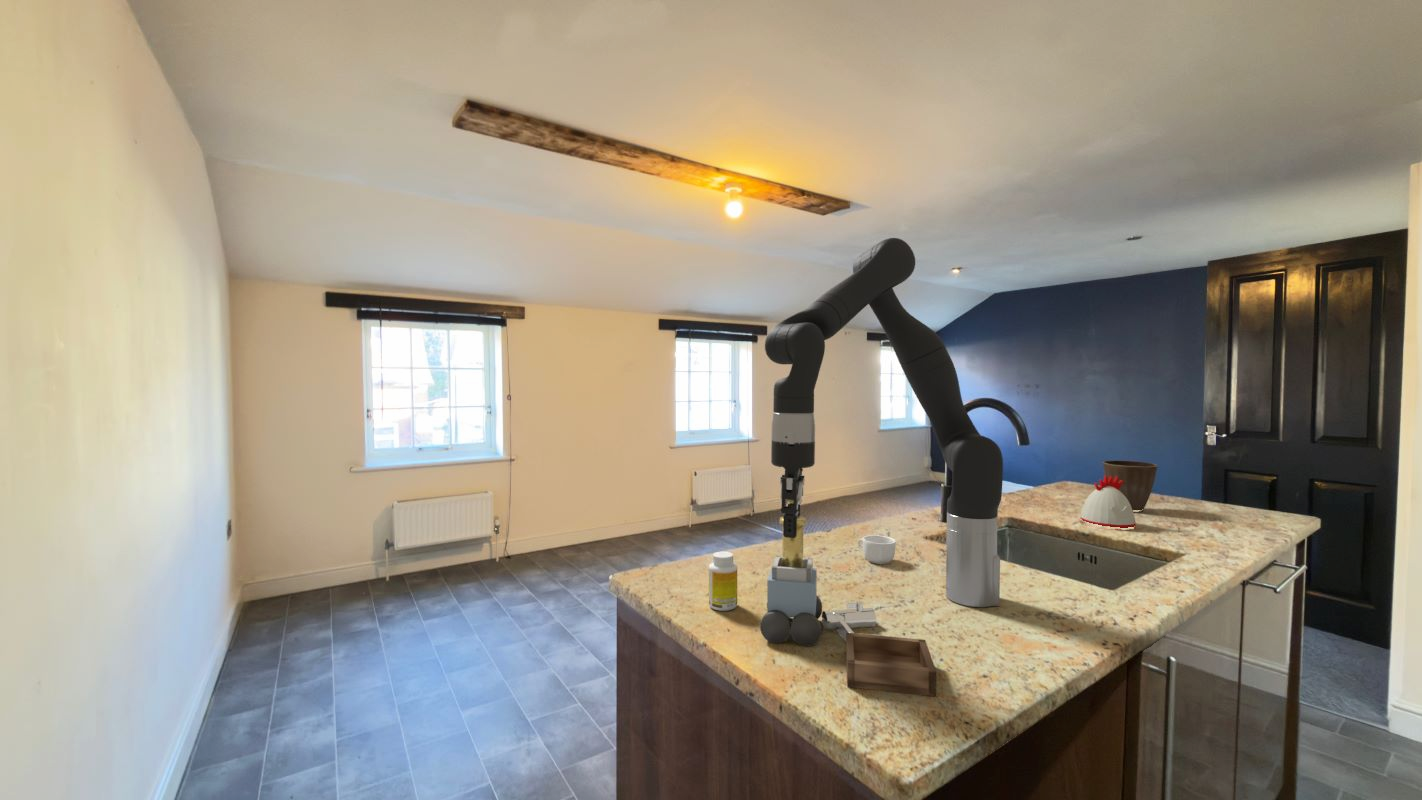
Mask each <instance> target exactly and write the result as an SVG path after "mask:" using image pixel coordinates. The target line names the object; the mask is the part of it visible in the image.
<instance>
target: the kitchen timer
mask: <svg viewBox="0 0 1422 800" xmlns="http://www.w3.org/2000/svg"><path fill="white" fill-rule="evenodd" d="M1098 483H1099V485H1098ZM1098 483H1096V482H1094V487H1095V489H1094V490H1093V491H1092V492H1091V493H1090V494H1089V495H1088V496H1087V497H1086V499H1085V501H1084V503H1083V505H1082V508H1081V511H1080V519H1082V520H1083V521H1086V522H1089V523H1093V524H1098V525H1102V526H1110V527H1120V528H1128V527H1134V526H1136V525H1137V524H1136V518H1135V514H1134V513H1135V512H1133V510H1132V508H1131V505H1130V503H1129V501H1128V500H1127V498H1126V497H1125V496H1124V495H1123V494H1122V493H1121V492H1120V491H1119V489H1120V487H1121V485H1122V483H1123V481H1122V480H1120V482H1119V483H1118V477H1117V476H1116V477H1115V479H1114V482H1113V478H1112V476H1109V481H1108V478H1107V476H1105V475H1104V476H1103V480H1102V479H1098ZM1080 519H1079V520H1080ZM1136 527H1137V526H1136Z"/></svg>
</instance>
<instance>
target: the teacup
mask: <svg viewBox="0 0 1422 800" xmlns="http://www.w3.org/2000/svg"><path fill="white" fill-rule="evenodd" d="M861 542H862V545H861ZM857 545H858V547H859V548H860V549H861V551H862V552H863V555H864V557H865V559H866V560H867V561H869V562H870V563H873V564H877V565H886V564H889V563H891V562H892V561H893V559H894V557H895V554H896V547H897V540H896V539H894V538H893V537H890V536H885V535H878V534H870V535H865V536H863V537H862V538H859V539H858V540H857Z"/></svg>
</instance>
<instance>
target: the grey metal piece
mask: <svg viewBox="0 0 1422 800" xmlns="http://www.w3.org/2000/svg"><path fill="white" fill-rule="evenodd" d="M863 604H864V603H863V602H862V601H856V602H848V603H846V608H847V609H835V610H834V609H833V610H832V609H831V610H822V613H821V625H822V626H823V627H824V628H825V630H826V629H827V630H828V629H829V630H833V629H834V630H835V631H836V632H837V633H838V635H839V636H840V637H841V638H842V640H843V641H844V642H845V643H846V633H855V632H854V631H853V630H852V629H859V628H872V627H873V628H874V627H876V625H877V616H876V615H877V614H876V612H875V609H874V608H873V607H865V608H863V606H864V605H863Z"/></svg>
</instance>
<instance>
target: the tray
mask: <svg viewBox="0 0 1422 800" xmlns="http://www.w3.org/2000/svg"><path fill="white" fill-rule="evenodd" d="M845 660H846V661H845V663H846V683H847V685H846V686H847V688H855V689H861V690H863V689H865V690H872V691H881V692H888V693H889V692H891V693H899V694H908V695H917V694H921V695H920V696H926V695H930V696H929V697H935V696H936V697H937V669H936V667H935V664H934V661H933V658H932V654H931V652H930V650H929V647H928V643H927V641H926V639H921V638H920V639H919V638H908V637H899V636H898V637H896V636H888V635H887V636H886V635H878V634H877V635H875V634H865V633H855V632H854V633H846V642H845Z"/></svg>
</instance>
